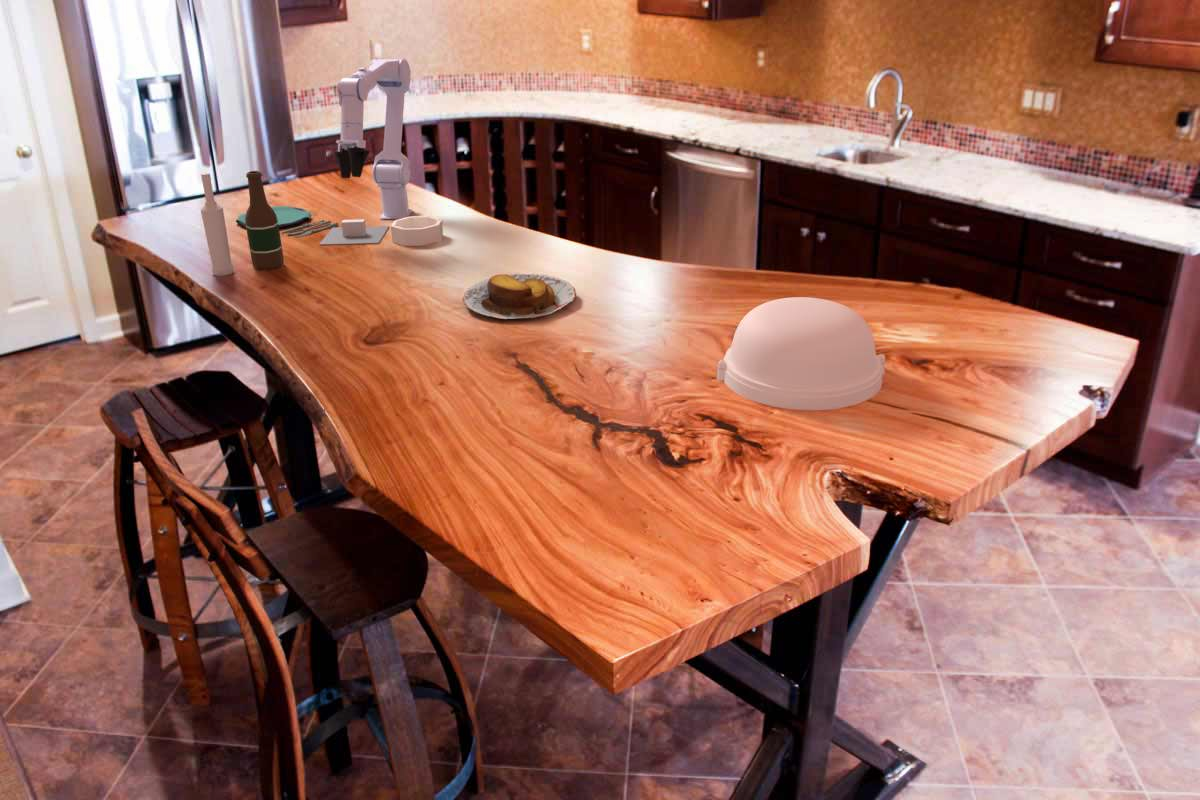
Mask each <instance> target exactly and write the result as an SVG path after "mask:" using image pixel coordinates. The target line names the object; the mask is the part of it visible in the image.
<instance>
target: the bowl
mask: <svg viewBox="0 0 1200 800" xmlns="http://www.w3.org/2000/svg"><path fill="white" fill-rule="evenodd" d="M393 220H394V221H393V222H392V223H391V225H390V232H391V239H392V243H394V244H398V245H401V246H403V247H416V246H417V247H418V246H419V247H420V246H423V247H424V246H428V245H431V244H435V243H439V242H441V241H442V239H443V236H444V231H443V230H444V229H443V220H442V219H441V218H437V217H434V216H431V215H414V216H412V215H411V216H410V215H409V217H406V218H402V219H393Z"/></svg>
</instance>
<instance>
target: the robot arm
mask: <svg viewBox="0 0 1200 800" xmlns="http://www.w3.org/2000/svg"><path fill="white" fill-rule="evenodd" d="M376 86H377V88H378V89H379V91H381V92H382V93H385V95H386V105H385V106H386V107H385V116H384V117H385V120H384V122H385V123H384V136H383V137H384V138H383V150H381V152H380V153H378V154H377V155H375V157H374V162H373V166H372V169H371V170H372V171H371V175H372V177H371V178H372V179H373V181H374V183H375V184H376V185H377V187H378V188H379V189H380V197H381V205H382V206H381V207H382V213H381V215H380V218H379V219H380V220H398V219H402V218H406V217H410V215H411V214H412V211H413V208H410V206H409V200H408V191H407V190H408V189H407V188H406V186H407V185H408V184H409V183H410V181H411V175H412V172H411V166H410V165H411V162H410V160H409V158H408V156H406V155H405V154H403V152H402V139H403V138H402V137H403V126H404V125H403V122H404V110H405V109H404V108H405V107H404V106H405V96H406V93H407V92H409V91H410V86H411V67H410V64H409V62H408V61H407V59H405V58H401V59H399V58H396V59H394V58H392V59H391V58H389V59H387V58H383V59H382V58H374V59H372V60H371V62H370V66H369V68H366V67H359V68H358V71H357V72H355V73H352V74H351V76H349V77H343V78H341V80H339V81H338V84H337V87H336V90H337V95H338V99H339V100H338V104H339V107H340V111H341V112H340V139H337V140H336V141H335V143H336V144H337V150H334V151H333V154H334V156H335V158H336V160H337V163H338V167H339V168H338V169H339V173H340V177H341V178H342V179H351V177H352V178H353V177H354V178H361V177H362V174H363V169H364V166H365V162H366V159H367V157H368V156H369V154H370V150H368V149H367V150H366V143H367V142H366V141H367V140H364V110H365V109H364V106H365V105H364V102H365V101H367V100H368V96H369V93H370V92H371V91H372V90H373V89H374V88H375V87H376Z"/></svg>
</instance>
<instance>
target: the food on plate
mask: <svg viewBox="0 0 1200 800" xmlns="http://www.w3.org/2000/svg"><path fill="white" fill-rule="evenodd" d="M576 298H577V292H576V288H575V287H574V286H573V285H572V284H571V283H570V282H569V281H566V280H565V279H562V278H559V277H555V276H550V275H546V274H535V273H515V274H511V273H509V274H507V273H504V274H496V275H493V276H491V277H490V278H489V279H484V280H481V281H479V282H476V283H475V284H474V285H472V286H470V287H469V288H468V289H467V290H466V291H465V292H464V295H463V297H462V302H463V304H464V306H465V307H466V308H468V310H470V311H473V312H474V313H477V314H478V315H479V314H480V315H483V316H486V317H492V318H496V319H504V320H508V319H511V320H513V319H529V318H531V319H534V318H538V317H543V316H544V317H545V316H548V315H552V313H555V312H556V311H557V310H561V309H562V308H563V307H565V306H566V305H567V306H568V304H569V303H570V302H574V301H575V299H576ZM542 312H543V313H542ZM494 313H495V314H496V313H497V314H500V315H495V314H494ZM535 313H536V314H535ZM538 313H540V314H538ZM501 314H502V315H501Z"/></svg>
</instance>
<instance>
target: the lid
mask: <svg viewBox="0 0 1200 800" xmlns="http://www.w3.org/2000/svg"><path fill="white" fill-rule="evenodd" d="M389 228H390V226H389V225H383V226H382V225H378V226H376V225H375V226H374V225H373V226H366V219H365V218H364V219H358V218H357V219H343V220H342V221H341V227H338V226H335V227H332V228H330V230H329V231H328V233H326V235H325V236H324V238H323V239H322V240H321V241H320V242H319V244H318V245H319V246H343V245H344V246H347V245H348V246H349V245H350V246H353V245H354V246H355V245H356V246H359V245H379V244H380V243H381V241H382V240H383V238H384V236H385V235H386V233H387V231H388V230H389Z"/></svg>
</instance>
